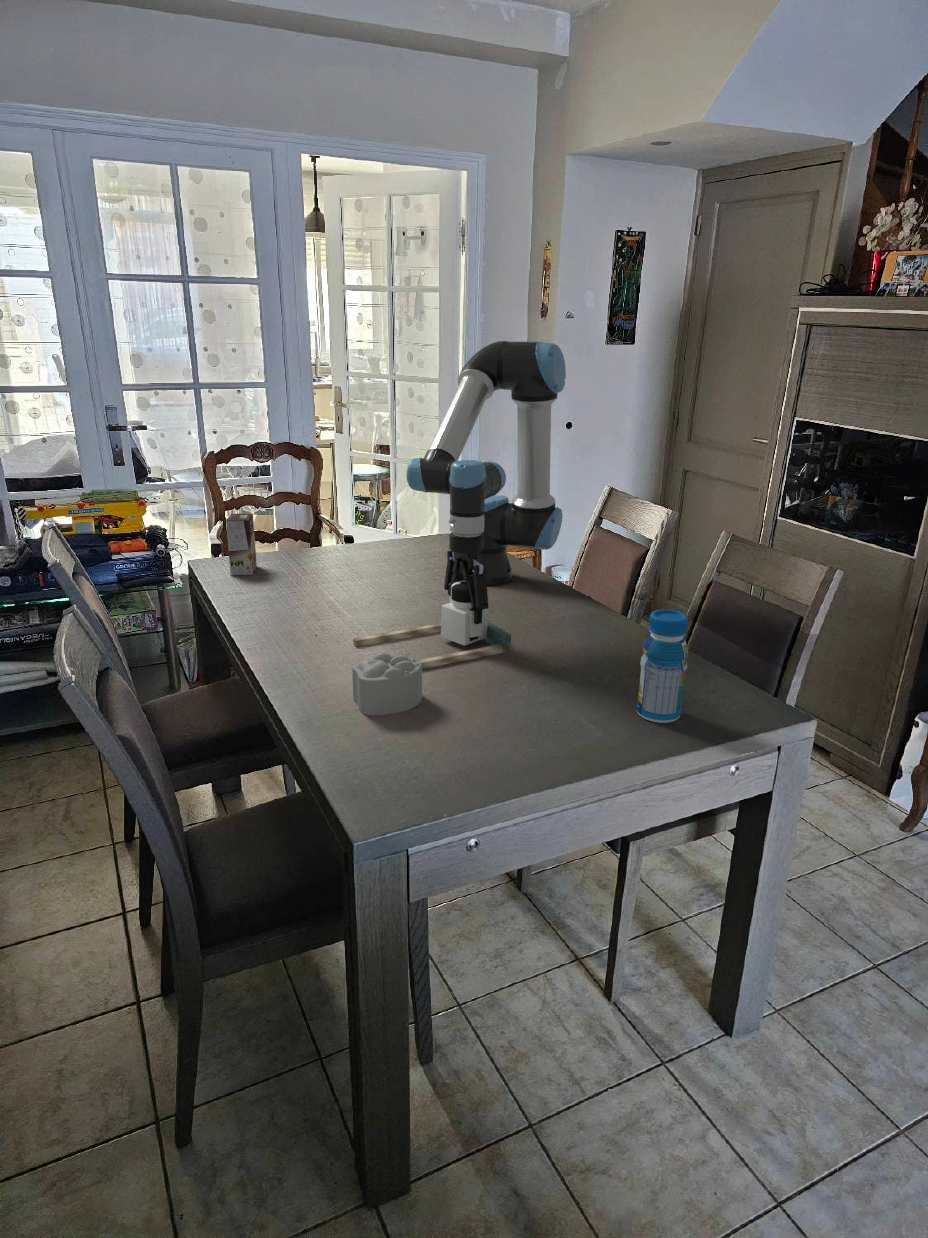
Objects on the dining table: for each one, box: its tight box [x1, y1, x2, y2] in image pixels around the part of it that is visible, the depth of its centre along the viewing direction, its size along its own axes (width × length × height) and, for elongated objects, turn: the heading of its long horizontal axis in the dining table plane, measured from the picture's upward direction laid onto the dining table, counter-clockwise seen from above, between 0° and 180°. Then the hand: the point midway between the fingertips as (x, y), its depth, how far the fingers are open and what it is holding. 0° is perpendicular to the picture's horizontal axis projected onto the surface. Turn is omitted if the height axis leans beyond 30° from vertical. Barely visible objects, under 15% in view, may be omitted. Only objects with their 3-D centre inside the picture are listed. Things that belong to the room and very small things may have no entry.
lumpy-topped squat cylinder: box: [351, 652, 423, 717], centre depth 153 cm, size 10×13×9 cm
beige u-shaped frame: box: [352, 619, 512, 670], centre depth 179 cm, size 30×19×4 cm, turn 119°
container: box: [440, 581, 489, 646], centre depth 180 cm, size 8×8×13 cm
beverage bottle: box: [635, 608, 689, 724], centre depth 147 cm, size 8×8×20 cm
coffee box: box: [225, 512, 258, 576], centre depth 228 cm, size 9×6×16 cm
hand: (464, 628), depth 182 cm, fingers closed on container, 9 cm apart
